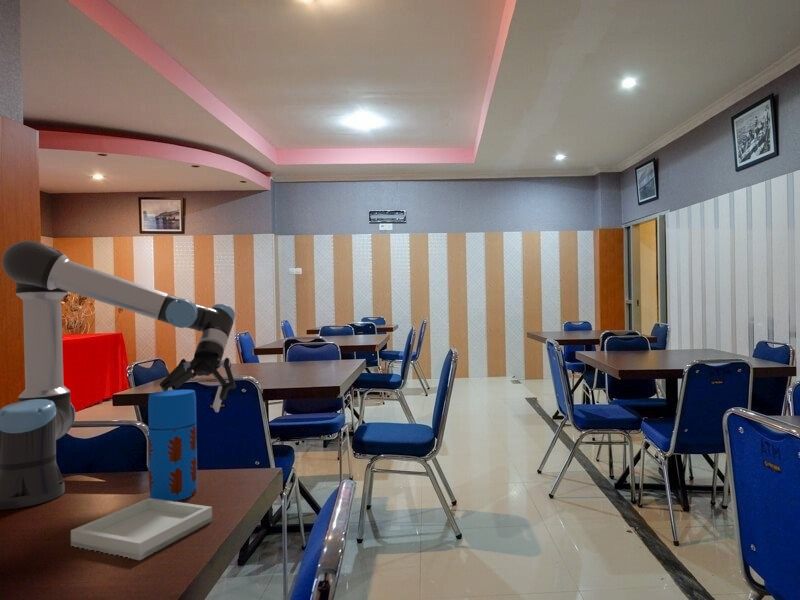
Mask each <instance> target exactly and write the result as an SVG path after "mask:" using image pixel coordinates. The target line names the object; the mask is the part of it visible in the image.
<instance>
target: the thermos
mask: <svg viewBox="0 0 800 600" xmlns="http://www.w3.org/2000/svg"><path fill="white" fill-rule="evenodd" d="M147 406H148V407H147V411H148V414H147V415H148V418H147V419H148V420H147V421H148V422H147V423H148V425H147V426H148V482H149V483H148V484H149V485H148V486H149V498H153V499H160V500H167V501H175V502H179V501H178V500H180V501H182V500H181V499H184V498H187V499H189V498H191V497H193V496H195V495H196V494H197V493H198V492H197V491H198V489H197V488H198V448H197V447H198V443H197V441H198V440H197V439H198V437H197V432H198V431H197V430H198V429H197V396H196V391H195V390H194V389H176V390H169V391H163V390H162V391H156V392H151V393H149V394H148V401H147ZM196 492H197V493H196ZM195 493H196V494H195ZM194 494H195V495H194ZM192 495H193V496H192ZM190 496H191V497H190ZM188 497H189V498H188ZM184 500H185V499H184Z"/></svg>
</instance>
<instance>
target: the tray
mask: <svg viewBox="0 0 800 600" xmlns="http://www.w3.org/2000/svg"><path fill="white" fill-rule="evenodd" d="M211 522H213V506H207V505H201V504H193V503H187V502H181V501H175V502H174V501H167V500H160V499H153V498H150V497H148V498H145V499H143V500H141V501H139V502H136V503H133V504H131V505H128V506H126V507H123V508H122V509H121V508H120V509H119V510H117V511H114V512H111V513H109V514H107V515H105V516H102V517H100V518H97V519H95V520H93V521H90V522H87V523H86V524H83V525H80V526H78V527H75V528H73V529H71V530H70V547H72V546H74V547H73V548H77V547H79V548H78V549H82V548H84V549H83V550H87V549H88V550H87V551H91V550H94V551H93V552H96V551H100V552H99V553H101V552H103V554H106V553H108V554H107V555H111V554H113V555H112V556H116V555H119V556H118V557H120V556H123V557H122V558H125V557H128V558H127V559H130V558H131V560H136V561H141V560H143V559H145V558H147V557H149V556H151V555H153V554H154V552H155V553H157V552H158V551H160V550H162V549H164V548H165V547H167V546H169V545H171V544H172V543H175V542H177V541H178V540H180V539H182V538H184V537H185V536H188V535H189V534H191V533H193V532H195V531H197V530H198V529H200V528H203V527H204V526H206V525H208V524H210V523H211Z"/></svg>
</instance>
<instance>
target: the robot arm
mask: <svg viewBox="0 0 800 600" xmlns="http://www.w3.org/2000/svg"><path fill="white" fill-rule="evenodd" d="M1 266H2V270H3V271H4V273H5V274H6V276H7V277H8V278H9V279H11V281H14V282H15V295H16V296H17V297H18V298H20V300H22V310H23V311H22V312H23V313H22V314H23V315H22V317H23V347H24V348H23V349H24V351H23V352H24V353H23V354H24V355H23V356H24V386H25V389H24V390H23V391H22V392H21V393H20V394H19V395H18V401H17V402H13V403H10V404H7V405H5V406H3V407H1V408H0V510H1V511H3V510H12V509H13V510H14V509H15V510H16V509H22V508H26V507H31V506H36V505H39V504H43V503H47V502H49V501H50V502H51V501H53V500H55V499H57V498H59V497H60V496H62V495H63V494H64V493H65V492H66V491H65V488H66V487H65V486H66V485H65V481H64V478H63V476H62V474H61V471H60V469H59V466H58V464H57V440H59V439H61V438H62V437H64V436H65V435H66V434H67V433H68V432H69V431H70V430H71V428H72V426H73V425H74V422H75V421H76V410H75V407H74V405H73V404H72V401H71V390H70V389H69V388H67V386H65V385H64V362H63V361H64V358H63V357H64V356H63V355H64V354H63V325H62V324H63V323H62V322H63V320H62V319H63V317H62V299H64V298H65V297H66V296H67V295H68V292H69V293H73V294H75V295H78V296H82V297H85V298H89V299H92V300H94V301H97V302H99V303H100V302H101V303H103V304H107V305H109V306H113V307H117V308H119V309H123V310H125V311H128V312H132V313H135V314H138V315H140V316H145V317H147V318H150V319H154V320H157V321H160V322H163V323H166V324H169V325H172V327H176V328H179V329H180V328H181V329H184V328H187V329H190V330H194V331H198V332H201V335H200V338H199V341H198V344H197V346H196V349H195V351H194V354H193V359H191V361H190V360H186V359H185V358H183V359H181V360H180V361H179V363H178V365H177V366H176V367H175V368H174V369H173V370H171V372H169V374H168V375H167V376H166V377H165V378H164V379H163V380H161V382H160V383H159V387H160V388H161V390H162V391H169V390H178V388H180V387H181V386H183V384H186V383H187V382H188V381H189V380H190V379H194V378H195V377H197V376H198V377H202V376H205V377H206V376H207V377H208V376H211V374H212V376H213V378H215V379H216V381H217V383H218V384H219V385H218V387H217V391H216V394H215V398H214V400H213V403H212V408H213V410H214V412H215V413H219V412H220V408H221V406H222V405H221V404H222V402H223V401H226V399H227V395H228V391H229V390H231V389H232V390H235V389H236V388H237V385H236V381H235V378H234V376H233V371H232V369H231V368H232V362H231V360H230V358H229V357H226V358H224V360H223V356H224V354H225V350H226V347H227V344H228V341H229V337H230V334H231V331H232V328H233V325H234V321H235V316H236V312H235V310H234V309H233V308H232V307H231V306H230V305H228V304H226V303H217V304H214V305H213V306H212V307H207V306H204V305H201V304H197V303H193V302H192V301H191V300H189V299H184V298H181V297H178V296H175V295H172V294H169V293H167V292H163V291H161V290H157V289H154V288H152V287H148V286H145V285H142V284H140V283H137V282H134V281H131V280H128V279H125V278H121V277H120V276H116V275H114V274H110V273H107V272H105V271H101V270H98V269H96V268H93V267H90V266H86V265H83V264H80V263H78V262H74V261H71V260H70V259H69V257H68V256H67V255H66V254H64V253H63V252H61V251H60V250H59V249H57V248H55V247H52V246H49V245H45V244H43V243H42V242H38V241H36V240H35V241H34V240H23V241H22V240H21V241H18V242H16V243H14V244H12V245H10V246H9V247H8V248H7V249H6V250H5V251H4V253H3V255H2V258H1ZM220 367H222V368H224V371H225V373H226V376H227V379H228V382H227V381H226V380H225V379H224V377H223V376H222V375H221V373H220V372H219V371H218V369H219V368H220Z"/></svg>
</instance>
